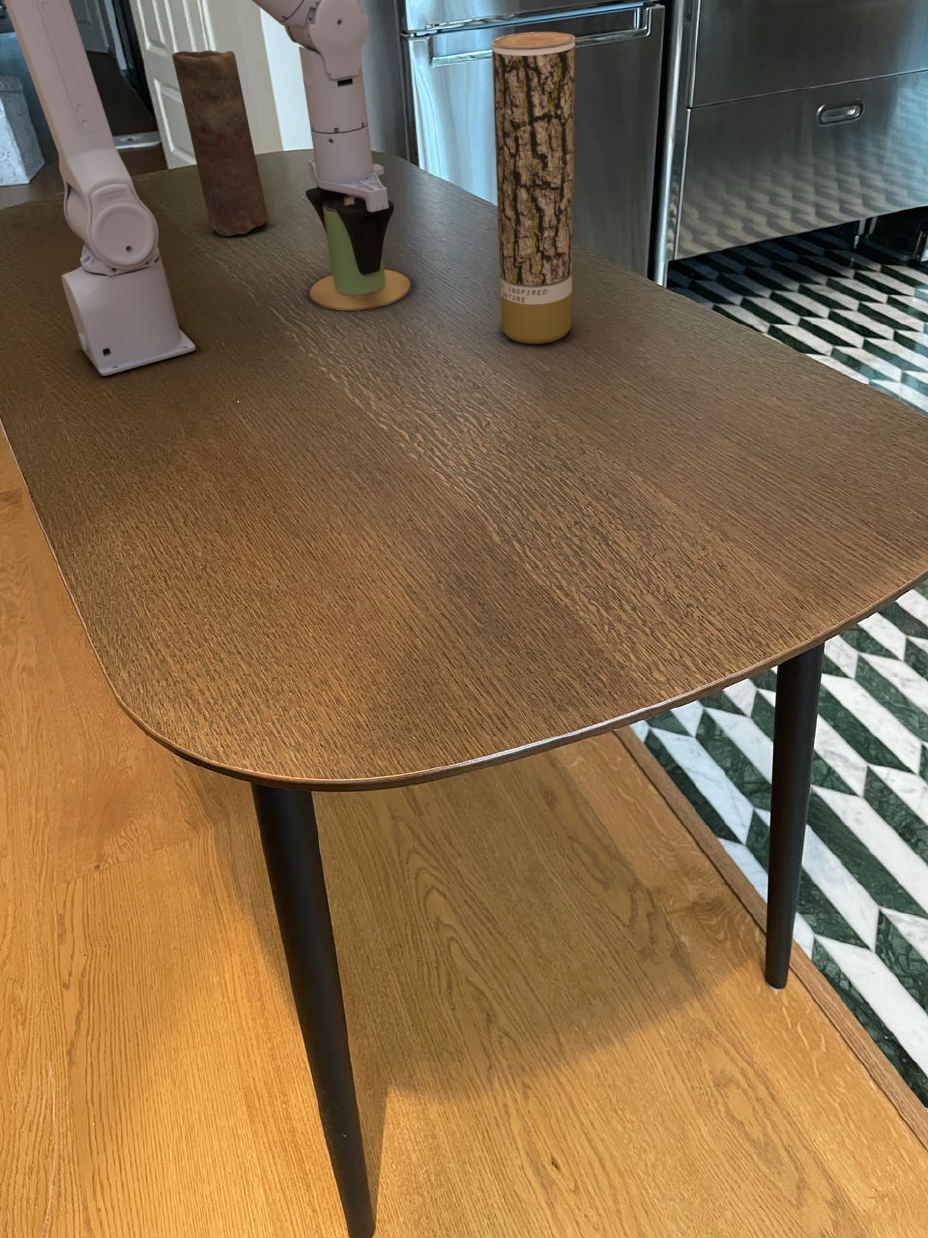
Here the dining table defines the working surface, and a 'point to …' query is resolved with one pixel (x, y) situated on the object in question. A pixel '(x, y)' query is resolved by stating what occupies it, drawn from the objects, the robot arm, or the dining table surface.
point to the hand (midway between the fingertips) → (357, 263)
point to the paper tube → (535, 182)
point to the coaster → (330, 298)
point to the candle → (221, 140)
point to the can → (347, 255)
